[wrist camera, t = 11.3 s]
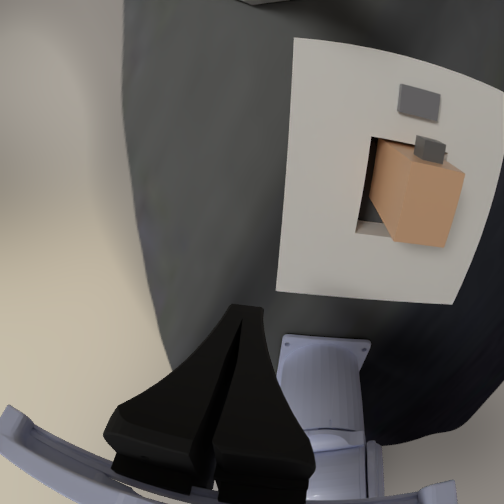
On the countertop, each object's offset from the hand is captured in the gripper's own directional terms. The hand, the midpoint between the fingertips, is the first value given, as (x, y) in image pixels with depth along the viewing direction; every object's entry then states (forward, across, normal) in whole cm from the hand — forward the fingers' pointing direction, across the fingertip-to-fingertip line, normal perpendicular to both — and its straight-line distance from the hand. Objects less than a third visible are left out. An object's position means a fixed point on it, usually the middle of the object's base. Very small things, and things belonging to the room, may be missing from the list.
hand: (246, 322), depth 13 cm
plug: (+10, -8, -5) cm, 13 cm away
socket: (+9, -8, -4) cm, 13 cm away
